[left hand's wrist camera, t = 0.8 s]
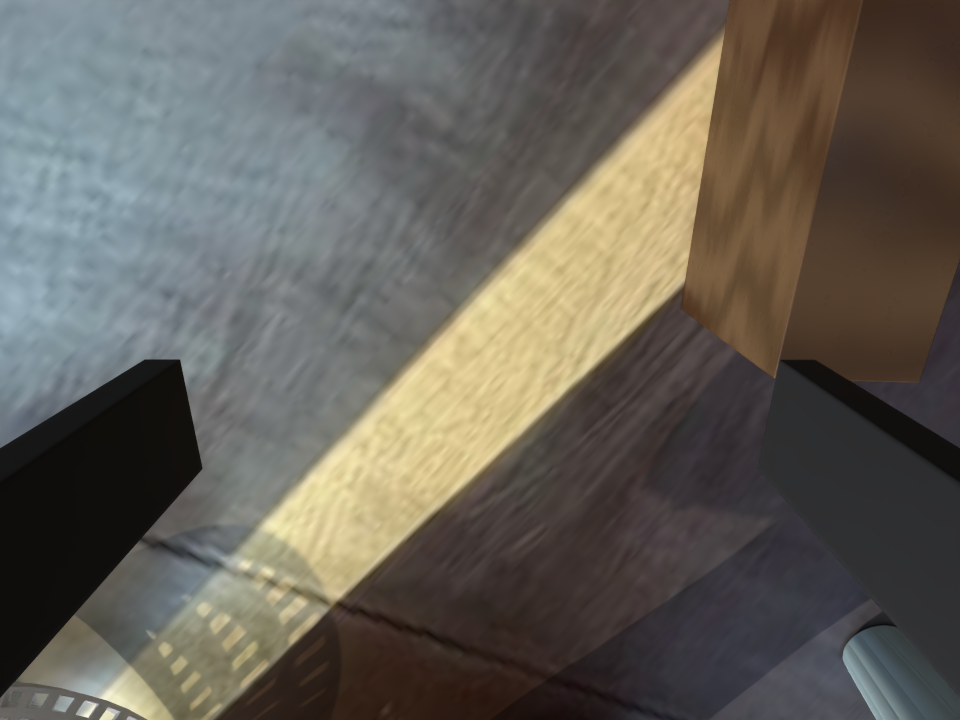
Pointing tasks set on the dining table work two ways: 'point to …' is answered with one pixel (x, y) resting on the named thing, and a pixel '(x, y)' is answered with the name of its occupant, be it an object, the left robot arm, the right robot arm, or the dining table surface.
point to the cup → (897, 677)
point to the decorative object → (45, 715)
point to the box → (831, 185)
